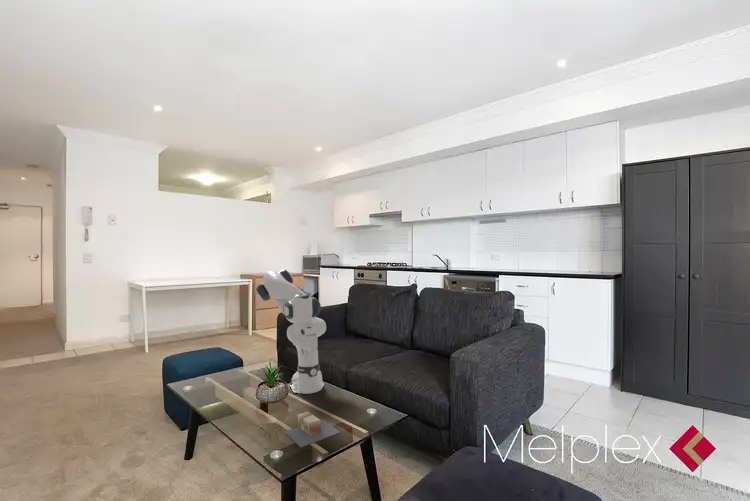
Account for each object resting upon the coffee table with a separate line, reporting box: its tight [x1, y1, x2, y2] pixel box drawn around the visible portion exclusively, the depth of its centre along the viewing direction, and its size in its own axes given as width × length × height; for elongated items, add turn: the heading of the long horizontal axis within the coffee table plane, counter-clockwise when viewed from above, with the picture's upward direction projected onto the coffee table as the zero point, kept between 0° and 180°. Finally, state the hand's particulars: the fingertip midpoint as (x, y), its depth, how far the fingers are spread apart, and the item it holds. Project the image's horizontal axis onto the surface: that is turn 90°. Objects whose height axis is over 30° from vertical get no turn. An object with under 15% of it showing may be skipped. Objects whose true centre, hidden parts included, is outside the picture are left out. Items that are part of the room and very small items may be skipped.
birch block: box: [297, 411, 321, 436], centre depth 158 cm, size 5×5×12 cm
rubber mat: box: [284, 418, 341, 448], centre depth 155 cm, size 16×18×1 cm
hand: (304, 357), depth 173 cm, fingers closed
